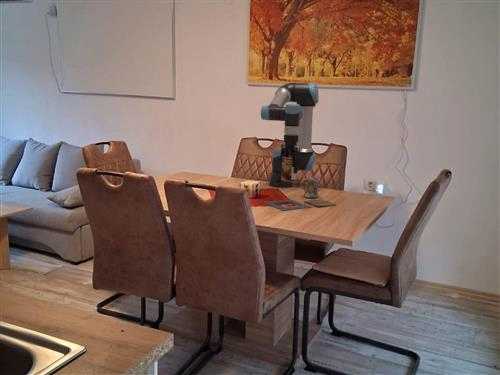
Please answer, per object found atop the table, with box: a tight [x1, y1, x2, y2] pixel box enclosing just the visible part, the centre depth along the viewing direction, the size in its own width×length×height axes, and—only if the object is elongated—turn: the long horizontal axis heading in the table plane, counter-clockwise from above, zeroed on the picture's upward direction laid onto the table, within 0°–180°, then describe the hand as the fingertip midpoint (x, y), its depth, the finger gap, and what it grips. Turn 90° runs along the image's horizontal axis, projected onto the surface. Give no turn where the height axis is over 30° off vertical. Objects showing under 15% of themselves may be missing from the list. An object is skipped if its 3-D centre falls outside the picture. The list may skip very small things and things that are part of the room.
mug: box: [299, 177, 321, 199], centre depth 270 cm, size 12×9×11 cm
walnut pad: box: [303, 198, 337, 209], centre depth 253 cm, size 12×12×1 cm
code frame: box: [263, 198, 312, 212], centre depth 248 cm, size 18×18×1 cm
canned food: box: [281, 156, 297, 182], centre depth 244 cm, size 8×8×12 cm
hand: (288, 177), depth 246 cm, fingers closed on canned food, 8 cm apart
